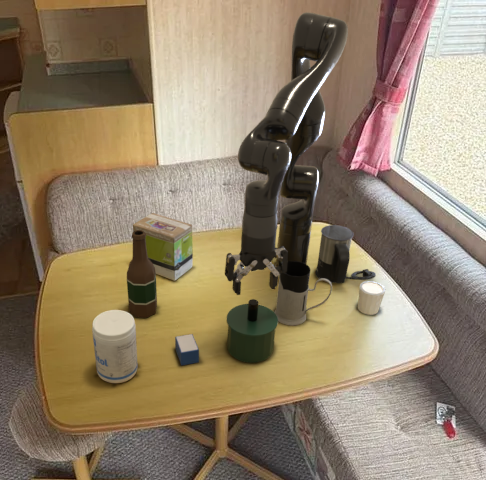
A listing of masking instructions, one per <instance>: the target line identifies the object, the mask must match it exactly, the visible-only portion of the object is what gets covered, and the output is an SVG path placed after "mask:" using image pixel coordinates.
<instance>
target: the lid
mask: <svg viewBox="0 0 486 480" xmlns="http://www.w3.org/2000/svg"><path fill="white" fill-rule="evenodd" d="M259 302H260V301H258V299H254V298H251V299H249V300H248V303H243V304H239V305H236V306H234V307H232V308H231V309H230V310H229V311H228V312H227V314H226V324H227V327H228V326H229V327H230V328H231V329H232V330H233V331H235V332H236V333H238V334H241V335H244V336H250V337H259V336H264V335H267V334H269V333H271V332H273V331H274V330H275V331H276V329H277V327H278V324H279V321H278V318H277V316H276V314H275V313H274V310H272V309H271V308H269V307H267V306H265V305H262V304H260V303H259Z"/></svg>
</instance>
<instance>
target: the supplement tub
mask: <svg viewBox="0 0 486 480" xmlns="http://www.w3.org/2000/svg"><path fill="white" fill-rule="evenodd" d="M91 330H92V341H93V348H94V350H93V351H94V358H95V359H94V360H95V367H96V374H97V375H98V377H99V378H100V379H101V380H102V381H104V382H106V383H110V384H120V383H125V382H127V381H129V380H131V379H132V378H133V377H134V376H135V375H137V372H138V368H139V367H138V365H139V364H138V347H137V327H136V321H135V318H134V315H133V314H131V313H130V312H128V311H126V310H121V309H110V310H106V311H102V312H100V313H98V314H97V316H95V317H94V319H93V321H92V329H91Z"/></svg>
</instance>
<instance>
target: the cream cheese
mask: <svg viewBox="0 0 486 480" xmlns="http://www.w3.org/2000/svg"><path fill="white" fill-rule="evenodd" d="M174 344H175V345H174V346H175V352H176V354H177V355H176V356H177V357H178V360H179V363H180V366H186V365H192V364H199V363H200V349H199V346H198V344H197V341H196V339H195V337H194V334H193V333H190V334H182V335H177V336H175V337H174Z"/></svg>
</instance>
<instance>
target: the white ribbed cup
mask: <svg viewBox="0 0 486 480" xmlns="http://www.w3.org/2000/svg"><path fill="white" fill-rule="evenodd" d="M358 288H359V289H358V297H357V298H358V300H357V309H358V311H359V312H361V313H362V314H364V315H369V316H372V315H373V316H374V315H376V314H378V313H379V310H380V308H381V305H382V302H383V298H384V296H385V293H386V287H385V286H384V285H383V284H381V283H380V282H377V281H373V280H365V281H362V282H361V283H359V287H358Z"/></svg>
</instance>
